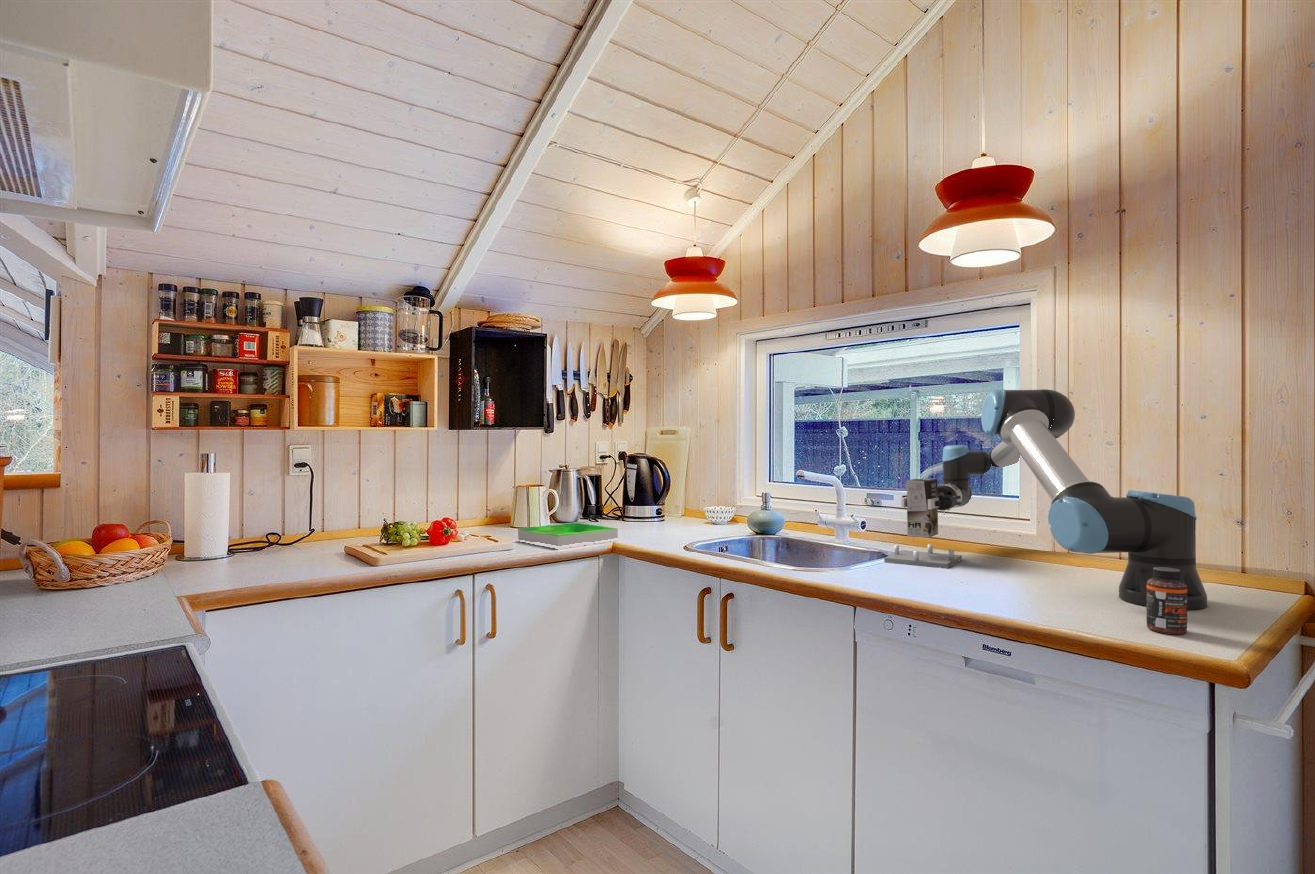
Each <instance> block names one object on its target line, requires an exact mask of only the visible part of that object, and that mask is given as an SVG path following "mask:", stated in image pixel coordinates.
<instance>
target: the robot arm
mask: <svg viewBox="0 0 1315 874" xmlns="http://www.w3.org/2000/svg"><path fill="white" fill-rule="evenodd" d="M1075 416H1076V412H1075V407H1074V405H1073V403H1072V402H1071V401H1070V399H1069V398H1068V397H1067V396H1066V395H1064V394H1062V393H1061V392H1059V391H1057V390H1053V389H1001V390H992V391H990V392H989V393H987V395H986V396H985V398H984V401H983V403H982V408H981V414H980V420H981V427H982V430H983V431H984V433H985V434H987V435H991V436H994V435H997V436H999V437H1000V439H1001V440H1002V441H1001V442H1000V443H999V444H997V445H996V446H995V447H994V448H993V450H992V449H991V450H992V451H991V450H990V451H991V452H990V453H989V455H988V454H987V453H985V452H982V451H983V450H970V449H969V446H968V445H962V444H959V445H955V444H954V445H952V444H951V445H945V446H944V447H943V448H942V449H943V451H942V479H943V480H942V484H941V485H937V489H938V498H933V499H928V509H935V508H938V511H942V512H943V511H951V509H954V508H959V507H960V508H961V507H964V506H965V505H968V504H969V503H970V502H969V500H970V499H971V496H972V491H973V489H972V487H971V485H970V476H982V475H981V474H984V473H985V472H987V471H988V470H989V469H990V467H991V464H992V466H995V467H1005V466H1009V465H1012V464H1015V463H1017V462H1018V461H1019V458H1020V455H1021V456H1022V458H1023V459H1022V460H1023V461H1024V462H1025V464H1026V465H1027V467H1028V468H1029V469H1030V470H1031V473H1032V474H1033V475H1034V476H1035V478H1036V479H1037V481H1038V483H1039V484H1040V485H1041V487H1042V489H1044V491H1045V492H1046V494H1047V495H1048V496H1049V498H1050V500H1051V502H1050V508H1049V510H1048V514H1047V521H1048V524H1049V525H1050V528H1049V529H1050V533H1051V535H1052V536H1053V538H1054V540H1055V541H1056V543H1057V544H1058V545H1060V546H1061V547H1062V548H1063V549H1065V550H1067V551H1069V552H1073V553H1082V554H1090V555H1092V554H1110V553H1111V554H1115V553H1116V554H1117V553H1128V554H1127V565H1126V567H1125V570H1124V572H1123V575H1122V578H1121V580H1120V583H1119V585H1118V597H1119V599H1121V600H1122V601H1124V602H1125V601H1126V602H1128V603H1132V604H1136V605H1141V606H1145V607H1147V581H1148V580H1149V579H1151V578H1152V577H1153V568H1154V567H1167V568H1174V569H1178V570H1180V576H1181V577H1180V579H1181V580H1182V581H1183V582H1184V583H1185V584H1186V586H1187V611H1188V610H1201V609H1206V608H1207V607H1208V594H1207V591H1206V590H1205V587H1204V585H1203V582H1202V580H1201V578H1200V574H1199V572H1198V570H1197V555H1196V554H1197V545H1196V539H1197V538H1196V537H1197V536H1196V532H1197V531H1196V524H1197V523H1196V521H1197V516H1196V506H1195V502H1194V501H1193V500H1192V499H1191V498H1190V497H1187V496H1183V495H1182V496H1181V495H1176V494H1175V495H1174V494H1167V493H1166V494H1165V493H1157V492H1147V491H1139V490H1134V489H1133V490H1128V491H1127V493H1126V495H1125V497H1123V496H1121V497H1114V496H1112V495H1111V494H1110V493H1109V492H1108V490H1107V489H1106V488H1105V487H1104V486H1103V485H1102V484H1101V483H1099V482H1097V481H1092V480H1089V479H1088V478H1087V476H1086V475H1085V473H1084V472H1083V471H1082V470H1081V469H1080V467H1079V466H1078V465H1077V464H1076V462H1075V461H1074V459H1072V457H1071V456H1070V455H1069V454H1068V452H1067V451H1066V449H1065V448H1064V447H1063V446H1062V444H1061V443H1060V442H1059V441H1058V439H1059V438H1060V437H1061V436H1063V435H1065V434H1066V433H1067V432H1068V431H1069V430H1070V429H1071V428H1072V426H1073V424H1074V422H1075ZM1053 419H1054V420H1053ZM1051 425H1052V426H1051ZM1050 427H1051V428H1050ZM1019 462H1020V461H1019ZM970 487H971V488H970ZM971 489H972V490H971ZM900 500H901V503H900V504H901V508H903V509H905V508H907V494H906V495H902V496H901V499H900ZM971 500H972V499H971ZM968 502H969V503H968Z"/></svg>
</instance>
